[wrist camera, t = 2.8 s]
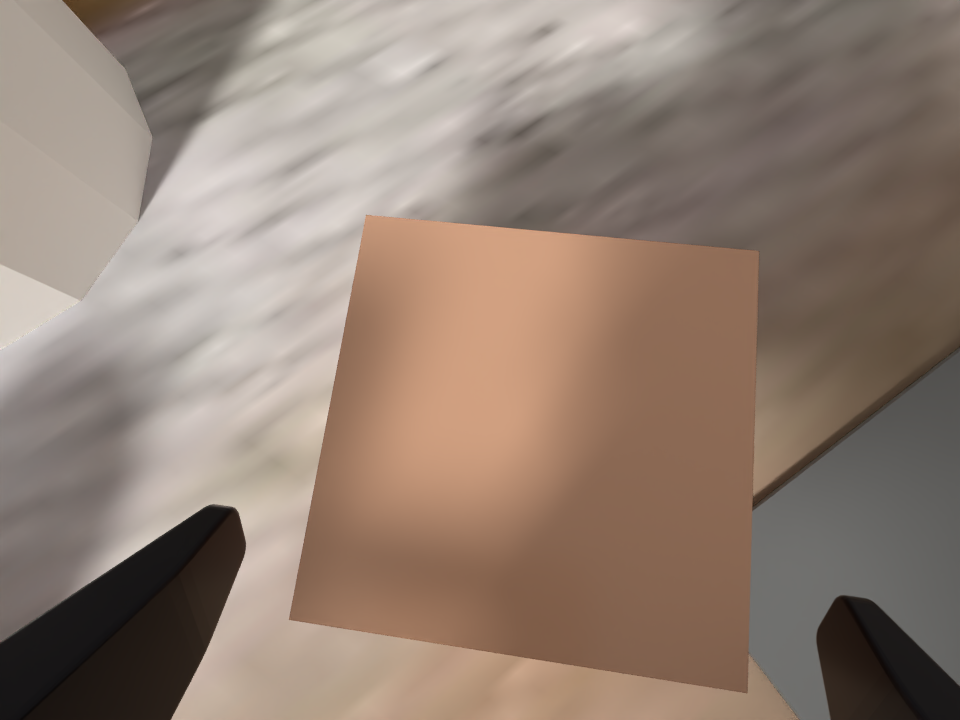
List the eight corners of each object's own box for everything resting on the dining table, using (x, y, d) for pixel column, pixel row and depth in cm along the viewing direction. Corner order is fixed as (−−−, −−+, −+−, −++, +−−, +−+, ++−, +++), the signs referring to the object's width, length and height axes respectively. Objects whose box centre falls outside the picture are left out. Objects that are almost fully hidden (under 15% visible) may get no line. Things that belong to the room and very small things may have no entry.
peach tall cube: (636, 378, 19) (758, 250, 9) (621, 586, 18) (746, 692, 8) (442, 356, 20) (365, 214, 10) (412, 555, 18) (289, 620, 8)
